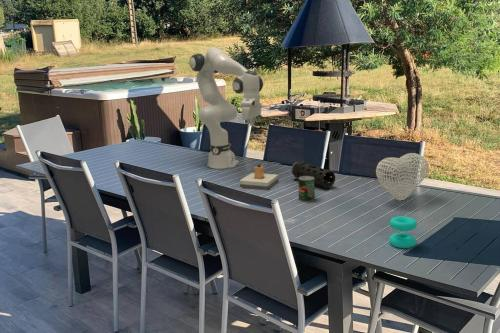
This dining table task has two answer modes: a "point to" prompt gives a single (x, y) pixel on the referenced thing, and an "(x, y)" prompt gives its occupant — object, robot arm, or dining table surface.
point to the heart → (379, 174)
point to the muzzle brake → (314, 174)
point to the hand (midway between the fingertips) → (252, 125)
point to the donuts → (403, 238)
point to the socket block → (259, 181)
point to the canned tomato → (306, 188)
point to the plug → (259, 171)
